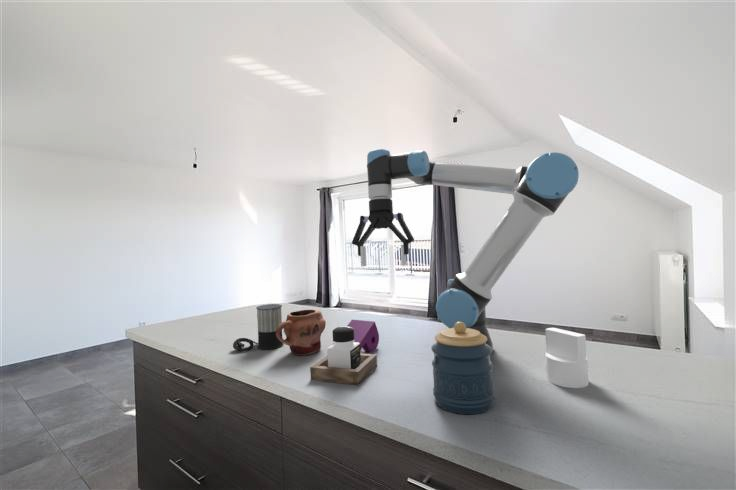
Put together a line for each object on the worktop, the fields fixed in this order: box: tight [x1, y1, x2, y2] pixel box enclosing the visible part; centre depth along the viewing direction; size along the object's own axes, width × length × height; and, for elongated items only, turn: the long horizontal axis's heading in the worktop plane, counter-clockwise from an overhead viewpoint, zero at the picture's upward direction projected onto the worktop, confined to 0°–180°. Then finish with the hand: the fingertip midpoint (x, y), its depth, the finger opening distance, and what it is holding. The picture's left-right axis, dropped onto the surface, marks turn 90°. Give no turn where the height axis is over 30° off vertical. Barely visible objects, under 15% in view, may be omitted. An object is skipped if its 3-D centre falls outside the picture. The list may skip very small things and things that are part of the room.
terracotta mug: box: [276, 309, 326, 356], centre depth 116 cm, size 20×12×14 cm, turn 145°
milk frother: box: [232, 303, 284, 352], centre depth 124 cm, size 14×16×15 cm
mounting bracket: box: [346, 319, 380, 353], centre depth 114 cm, size 10×8×18 cm
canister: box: [431, 322, 495, 415], centre depth 76 cm, size 13×13×18 cm
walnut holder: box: [309, 352, 378, 386], centre depth 96 cm, size 14×14×3 cm
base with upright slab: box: [544, 327, 589, 389], centre depth 84 cm, size 9×9×12 cm
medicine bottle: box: [326, 325, 361, 369], centre depth 96 cm, size 7×7×12 cm
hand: (383, 265), depth 109 cm, fingers open, 13 cm apart
